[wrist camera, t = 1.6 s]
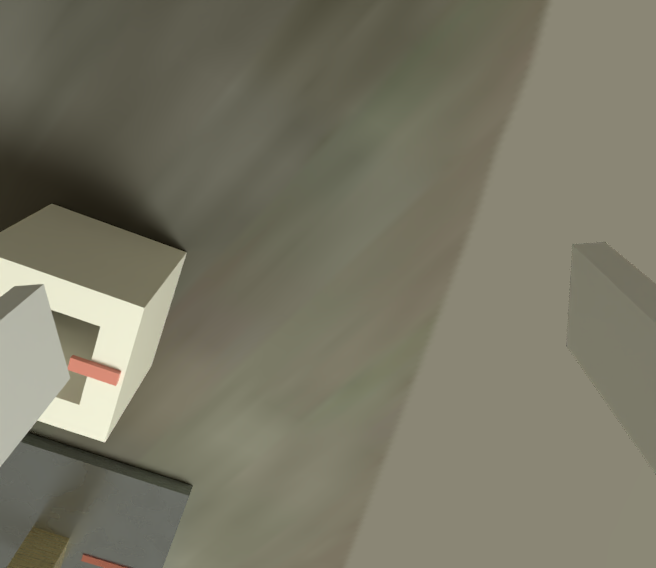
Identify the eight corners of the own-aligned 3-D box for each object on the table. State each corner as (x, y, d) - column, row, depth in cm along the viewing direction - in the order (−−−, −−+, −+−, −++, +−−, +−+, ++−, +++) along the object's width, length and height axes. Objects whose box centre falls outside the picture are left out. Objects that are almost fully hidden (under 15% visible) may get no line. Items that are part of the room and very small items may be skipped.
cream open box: (25, 322, 38) (-56, 394, 30) (51, 203, 35) (-32, 249, 28) (151, 365, 39) (102, 446, 31) (186, 252, 36) (142, 310, 28)
